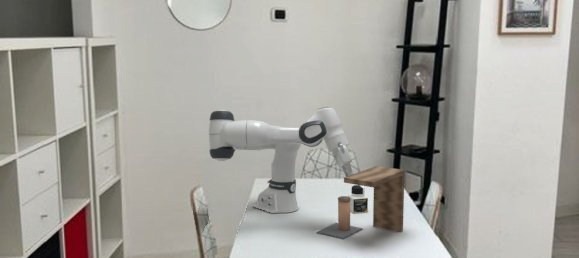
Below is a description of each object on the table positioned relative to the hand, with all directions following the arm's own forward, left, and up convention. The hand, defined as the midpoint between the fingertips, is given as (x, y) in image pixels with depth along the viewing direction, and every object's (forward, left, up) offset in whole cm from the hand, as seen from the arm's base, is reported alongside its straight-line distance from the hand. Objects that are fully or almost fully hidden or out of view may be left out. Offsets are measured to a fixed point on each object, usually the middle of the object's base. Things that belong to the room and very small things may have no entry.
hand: (349, 175), depth 233 cm
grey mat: (-4, -1, -24) cm, 24 cm away
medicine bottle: (-13, +29, -24) cm, 40 cm away
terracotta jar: (-3, +1, -23) cm, 24 cm away
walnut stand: (+11, +2, -24) cm, 26 cm away
